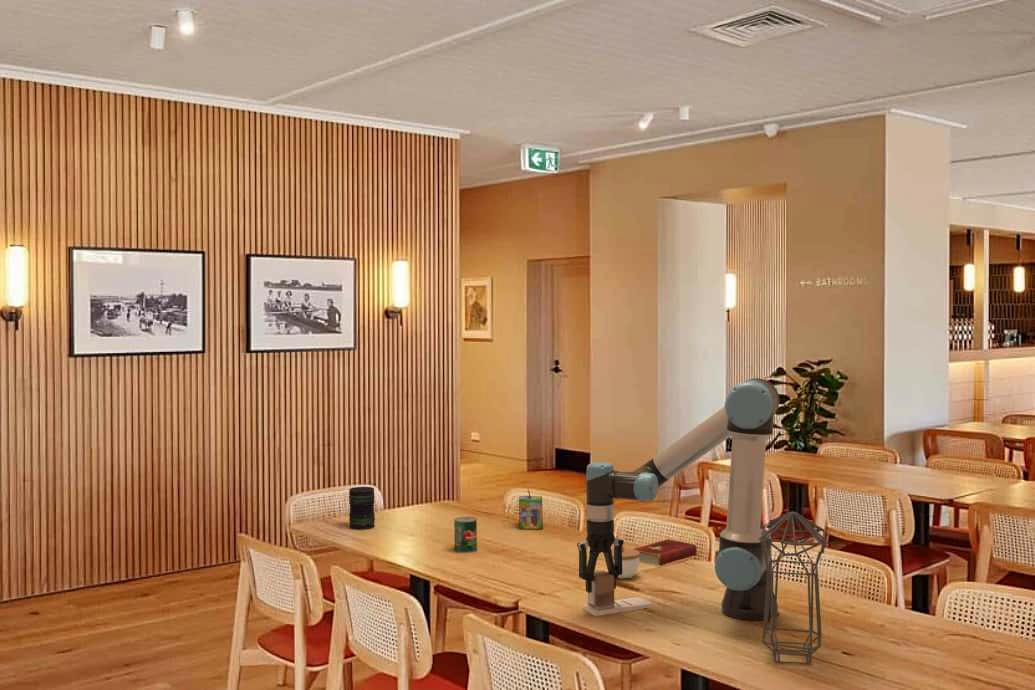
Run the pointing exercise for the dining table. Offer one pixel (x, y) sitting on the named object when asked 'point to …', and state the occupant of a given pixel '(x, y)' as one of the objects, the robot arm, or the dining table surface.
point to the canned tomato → (465, 534)
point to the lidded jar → (628, 562)
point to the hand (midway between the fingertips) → (601, 602)
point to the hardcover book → (666, 551)
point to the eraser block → (603, 590)
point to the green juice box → (530, 512)
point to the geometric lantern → (770, 574)
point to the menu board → (620, 606)
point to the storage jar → (361, 508)
